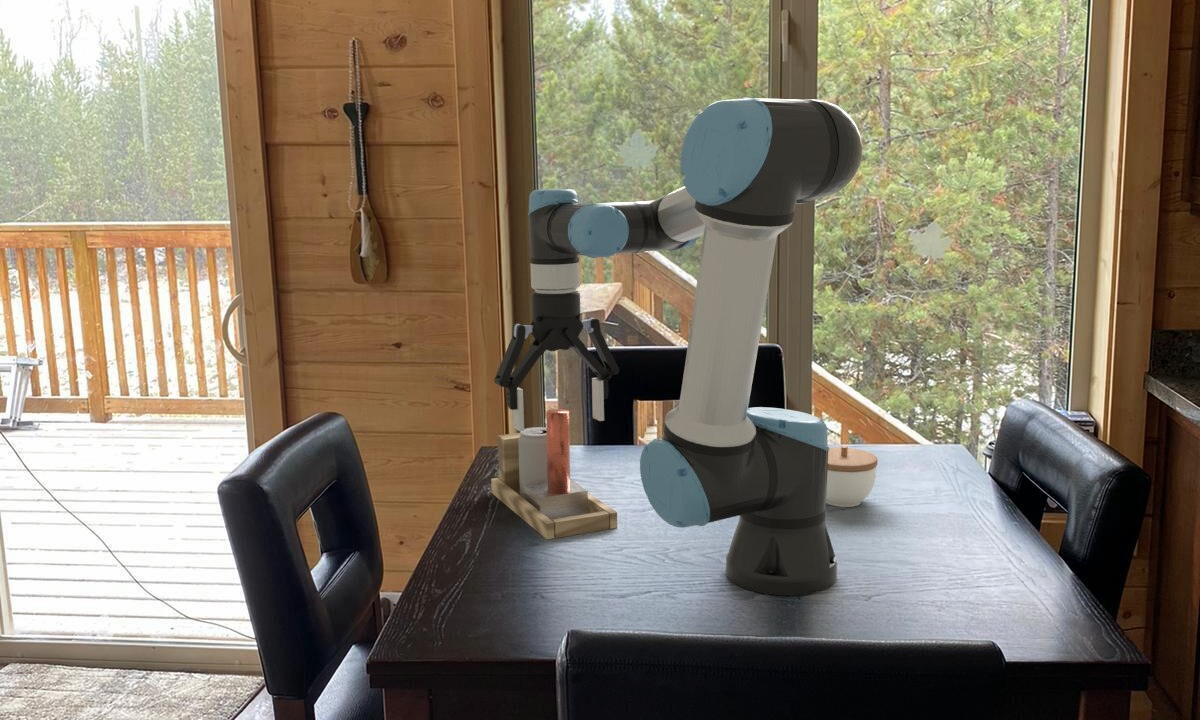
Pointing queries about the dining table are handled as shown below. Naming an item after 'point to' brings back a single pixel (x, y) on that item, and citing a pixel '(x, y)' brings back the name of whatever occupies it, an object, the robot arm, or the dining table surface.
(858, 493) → the lidded jar
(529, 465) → the beverage can
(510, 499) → the press frame
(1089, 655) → the dining table surface
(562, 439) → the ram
